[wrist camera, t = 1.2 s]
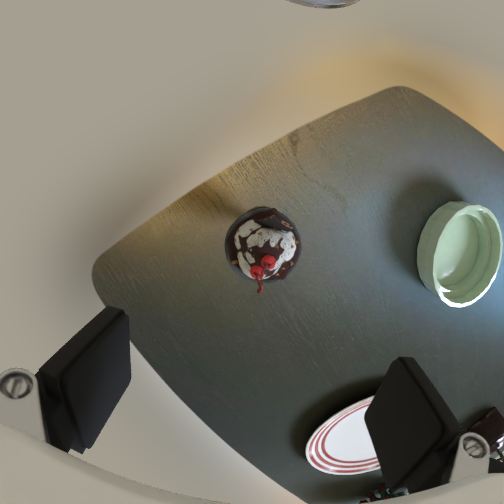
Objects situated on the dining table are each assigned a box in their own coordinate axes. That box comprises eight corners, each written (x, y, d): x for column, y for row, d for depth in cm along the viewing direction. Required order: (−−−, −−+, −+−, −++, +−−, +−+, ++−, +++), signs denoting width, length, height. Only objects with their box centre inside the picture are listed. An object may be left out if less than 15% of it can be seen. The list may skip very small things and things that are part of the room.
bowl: (428, 188, 32) (449, 191, 27) (490, 215, 32) (510, 220, 27) (402, 287, 35) (418, 301, 31) (466, 298, 36) (483, 311, 31)
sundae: (253, 263, 35) (245, 322, 21) (226, 216, 34) (198, 245, 20) (300, 239, 34) (325, 283, 20) (274, 190, 33) (283, 199, 19)
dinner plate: (292, 468, 47) (292, 479, 44) (324, 381, 40) (327, 395, 37) (401, 457, 46) (404, 466, 43) (453, 372, 39) (461, 382, 36)
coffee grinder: (496, 404, 43) (526, 445, 25) (495, 420, 45) (520, 457, 27) (451, 439, 46) (475, 485, 28) (454, 452, 48) (475, 493, 30)
